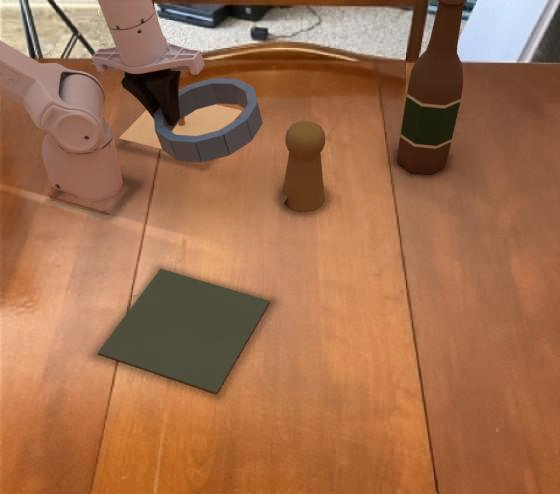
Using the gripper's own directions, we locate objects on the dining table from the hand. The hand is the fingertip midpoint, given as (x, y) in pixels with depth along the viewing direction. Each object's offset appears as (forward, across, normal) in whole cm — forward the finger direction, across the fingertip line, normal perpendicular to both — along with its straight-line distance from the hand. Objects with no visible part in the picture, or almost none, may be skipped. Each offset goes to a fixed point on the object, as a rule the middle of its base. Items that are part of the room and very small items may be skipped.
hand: (169, 121), depth 89 cm
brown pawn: (+14, -15, -3) cm, 21 cm away
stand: (+10, +7, -12) cm, 17 cm away
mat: (+10, -11, +25) cm, 29 cm away
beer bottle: (+17, -28, -18) cm, 38 cm away
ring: (+1, -6, 0) cm, 6 cm away
